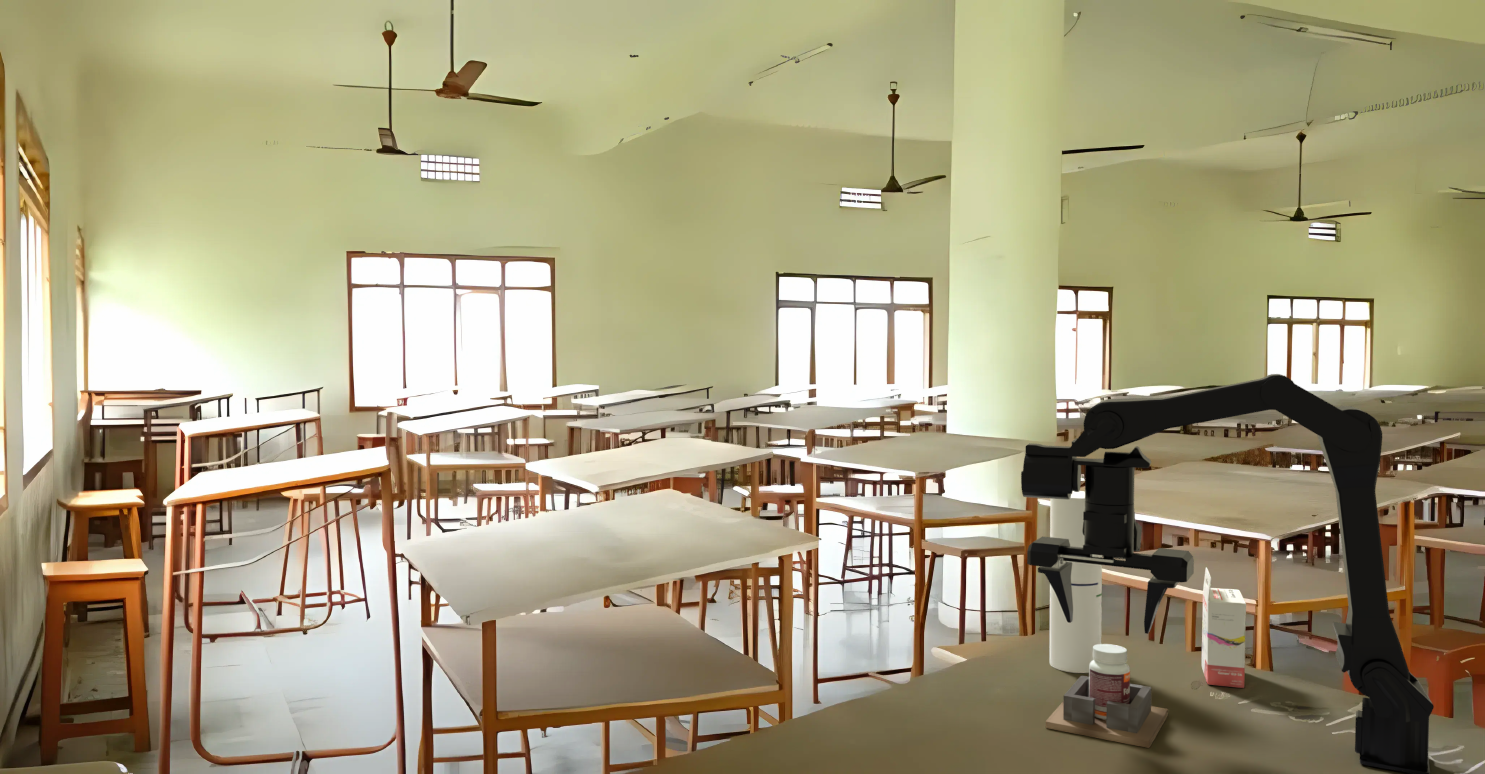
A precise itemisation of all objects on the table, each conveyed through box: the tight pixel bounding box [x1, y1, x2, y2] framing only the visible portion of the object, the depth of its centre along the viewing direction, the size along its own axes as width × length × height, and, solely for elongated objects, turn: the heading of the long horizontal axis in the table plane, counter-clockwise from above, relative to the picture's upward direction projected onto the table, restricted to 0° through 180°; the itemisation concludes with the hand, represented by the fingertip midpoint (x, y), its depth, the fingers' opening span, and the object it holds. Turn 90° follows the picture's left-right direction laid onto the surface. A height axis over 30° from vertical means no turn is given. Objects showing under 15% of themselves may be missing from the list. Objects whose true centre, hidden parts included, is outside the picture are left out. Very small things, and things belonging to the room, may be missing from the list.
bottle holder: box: [1045, 675, 1169, 749], centre depth 126 cm, size 12×12×4 cm
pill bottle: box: [1088, 643, 1131, 720], centre depth 126 cm, size 5×5×8 cm
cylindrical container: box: [1049, 490, 1103, 674], centre depth 148 cm, size 7×7×25 cm
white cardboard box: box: [1201, 566, 1247, 689], centre depth 142 cm, size 9×5×15 cm, turn 161°
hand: (1107, 627), depth 126 cm, fingers open, 9 cm apart
